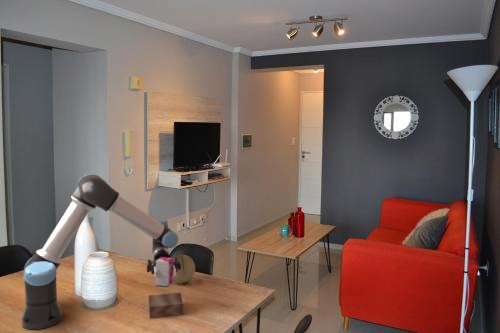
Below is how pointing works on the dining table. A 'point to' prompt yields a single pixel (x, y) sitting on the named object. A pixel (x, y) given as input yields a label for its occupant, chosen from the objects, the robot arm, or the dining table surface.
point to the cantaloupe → (184, 269)
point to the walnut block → (165, 305)
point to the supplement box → (164, 272)
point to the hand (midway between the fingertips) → (165, 274)
